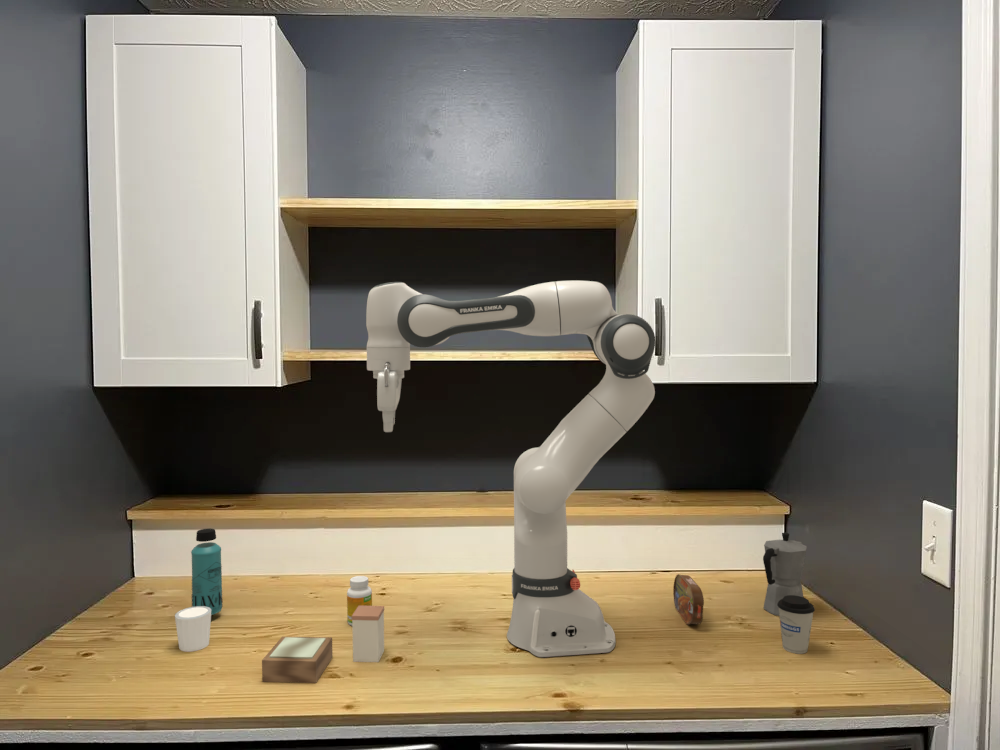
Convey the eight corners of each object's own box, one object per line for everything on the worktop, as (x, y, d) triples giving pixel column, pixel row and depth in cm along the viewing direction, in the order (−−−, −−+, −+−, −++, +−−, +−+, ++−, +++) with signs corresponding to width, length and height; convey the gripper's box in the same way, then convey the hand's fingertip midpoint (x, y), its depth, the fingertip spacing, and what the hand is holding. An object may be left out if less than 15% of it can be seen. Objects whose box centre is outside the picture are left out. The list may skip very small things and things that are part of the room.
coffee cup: (795, 638, 142) (796, 591, 142) (822, 652, 136) (823, 603, 135) (768, 644, 140) (769, 596, 139) (794, 659, 133) (795, 608, 133)
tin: (672, 603, 161) (672, 568, 161) (685, 603, 161) (685, 568, 161) (691, 631, 146) (691, 592, 146) (705, 631, 146) (706, 592, 146)
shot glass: (219, 640, 143) (218, 607, 142) (196, 654, 136) (195, 620, 136) (191, 636, 145) (190, 604, 144) (168, 650, 138) (166, 616, 138)
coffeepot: (779, 597, 165) (780, 523, 164) (818, 608, 158) (820, 531, 157) (744, 613, 155) (745, 535, 154) (784, 627, 148) (785, 545, 147)
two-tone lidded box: (384, 650, 138) (384, 605, 137) (378, 662, 133) (378, 616, 132) (359, 649, 138) (358, 605, 138) (352, 661, 133) (351, 615, 133)
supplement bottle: (366, 627, 149) (365, 583, 148) (343, 625, 150) (342, 582, 149) (375, 617, 154) (375, 575, 153) (353, 616, 155) (352, 573, 154)
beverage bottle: (185, 621, 152) (182, 533, 151) (205, 610, 159) (202, 525, 158) (211, 624, 151) (208, 534, 150) (229, 612, 157) (227, 526, 156)
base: (332, 657, 135) (332, 635, 135) (316, 682, 125) (315, 659, 125) (282, 656, 135) (282, 635, 135) (262, 681, 125) (261, 658, 125)
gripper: (402, 363, 131) (403, 435, 132) (405, 360, 151) (405, 422, 152) (369, 363, 130) (370, 435, 131) (376, 360, 151) (377, 422, 151)
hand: (389, 428), depth 142 cm, fingers open, 8 cm apart
